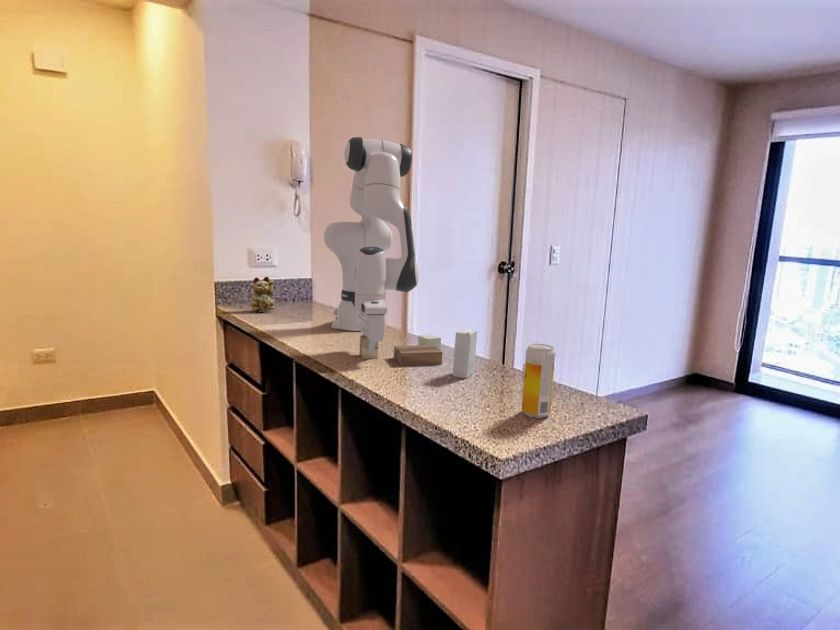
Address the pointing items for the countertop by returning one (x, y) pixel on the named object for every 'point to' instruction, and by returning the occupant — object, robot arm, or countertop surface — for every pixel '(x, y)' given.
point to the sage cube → (430, 340)
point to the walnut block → (417, 355)
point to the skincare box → (464, 353)
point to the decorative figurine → (262, 295)
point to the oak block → (364, 348)
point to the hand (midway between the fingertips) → (368, 349)
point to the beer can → (538, 380)
